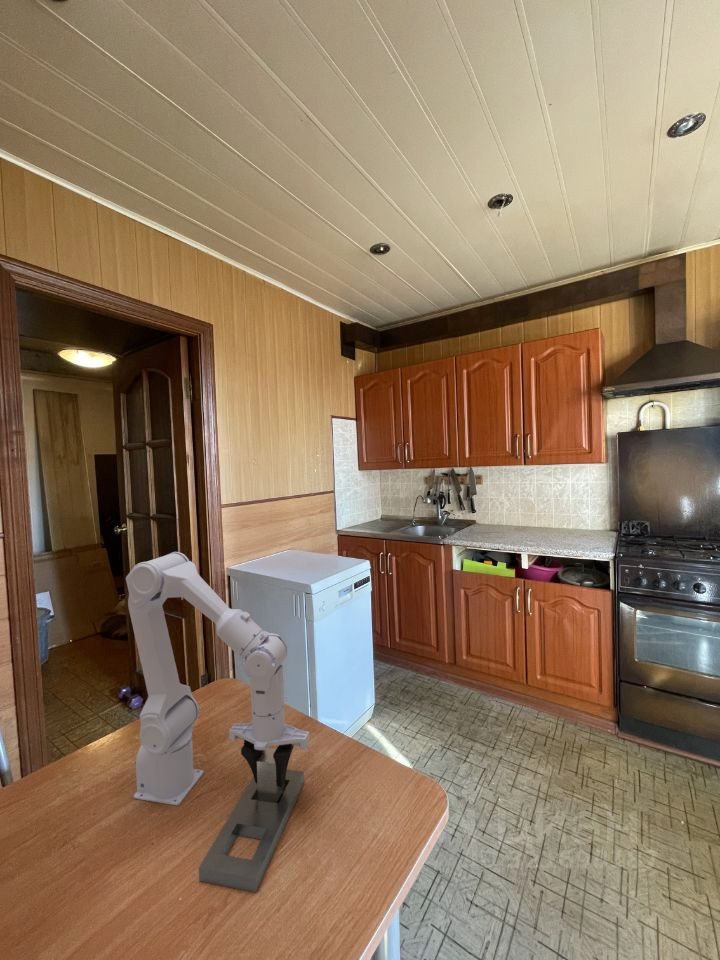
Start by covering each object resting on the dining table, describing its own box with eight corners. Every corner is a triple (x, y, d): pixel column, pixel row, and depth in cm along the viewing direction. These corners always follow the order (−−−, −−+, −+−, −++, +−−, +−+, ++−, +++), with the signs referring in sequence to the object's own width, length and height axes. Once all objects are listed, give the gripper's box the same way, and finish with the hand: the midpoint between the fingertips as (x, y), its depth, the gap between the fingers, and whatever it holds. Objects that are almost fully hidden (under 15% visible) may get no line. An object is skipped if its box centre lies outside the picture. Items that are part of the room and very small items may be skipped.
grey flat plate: (199, 880, 58) (198, 867, 58) (260, 775, 77) (260, 765, 77) (256, 892, 56) (255, 878, 56) (304, 781, 75) (303, 771, 75)
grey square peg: (257, 799, 70) (256, 761, 70) (266, 784, 74) (265, 747, 74) (276, 802, 70) (275, 763, 69) (284, 786, 73) (283, 749, 73)
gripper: (219, 716, 69) (222, 793, 69) (298, 725, 66) (301, 805, 66) (239, 693, 75) (242, 763, 76) (312, 700, 73) (314, 773, 73)
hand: (270, 780), depth 71 cm, fingers closed on grey square peg, 4 cm apart
